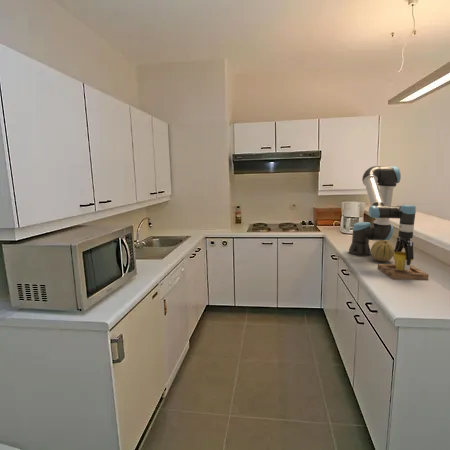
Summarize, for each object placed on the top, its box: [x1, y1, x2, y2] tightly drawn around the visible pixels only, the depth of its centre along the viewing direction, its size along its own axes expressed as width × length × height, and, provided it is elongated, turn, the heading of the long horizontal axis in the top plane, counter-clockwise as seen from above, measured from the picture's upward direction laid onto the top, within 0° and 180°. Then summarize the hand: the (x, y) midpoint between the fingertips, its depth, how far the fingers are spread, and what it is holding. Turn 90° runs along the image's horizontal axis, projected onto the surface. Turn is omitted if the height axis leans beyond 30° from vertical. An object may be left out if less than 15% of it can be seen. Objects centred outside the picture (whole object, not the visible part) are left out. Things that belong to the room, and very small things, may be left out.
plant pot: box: [392, 251, 414, 271], centre depth 192 cm, size 10×10×10 cm
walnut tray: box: [377, 263, 430, 281], centre depth 193 cm, size 20×20×3 cm
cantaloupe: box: [370, 240, 395, 263], centre depth 219 cm, size 15×15×15 cm
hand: (402, 267), depth 193 cm, fingers closed on plant pot, 10 cm apart
